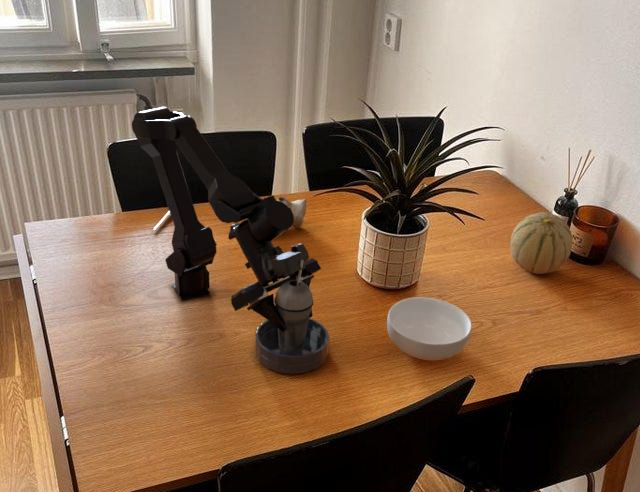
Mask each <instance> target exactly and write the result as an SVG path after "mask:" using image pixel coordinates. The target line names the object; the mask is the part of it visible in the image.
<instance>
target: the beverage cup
mask: <svg viewBox="0 0 640 492" xmlns="http://www.w3.org/2000/svg"><path fill="white" fill-rule="evenodd" d="M303 262H304V260H301V263H300V266H301V268H302V267H303ZM301 273H302V270H301V269H300V270H299V274H298V279H297V280H289V281H286V282H285V283H283V284H282V285H281V286H280V287H278V288H277V290H276V293H275V296H274V304H275V306H276V308H277V310H278V312H279V314H280V316H281V318H282V319H283V321H284V324H285V326H286V330H285V331H281V330H280V329H279V328H278V339H279V348H280V353H281V354H283V355H289V356H295V355H301V354H302V352H303V347H304V343H305V337H306V331H307V326H308V320H309V314H310V312H311V309H313V305H314V298H313V293H312V291H311V288H310V286H309V287H308V286H307V285H306V284H305V283H304V282H302V281H300V278H301Z"/></svg>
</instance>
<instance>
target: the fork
mask: <svg viewBox="0 0 640 492" xmlns="http://www.w3.org/2000/svg"><path fill="white" fill-rule="evenodd" d="M169 217H171V214H170V211H169V210H168V211H167V213H165V215H164V216H163V217H162V218H161V220H159V221H158V223H157V224H156V225H155V226H154V227H153V228H152V232H154V233H155V232H157V231H158V229H160V227H161V226H163V224H165V222H166V221H167V220H168V219H169Z"/></svg>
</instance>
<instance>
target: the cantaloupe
mask: <svg viewBox="0 0 640 492" xmlns="http://www.w3.org/2000/svg"><path fill="white" fill-rule="evenodd" d="M509 243H510V253H511V256H512V259H513V260H514V262H515V263H516V264H517V266H519V267H520V268H522V269H523V270H524V271H526V272H529V273H532V274H535V275H543V274H549V273H552V272H555V271H557V270H558V269H560V268H561V267H562V266H564V264H565V263H566V262H567V261H568V259H569V257H570V255H571V252H572V249H573V234H572V230H571V228H570V226H569V224H568V223H566V221H565V220H564V219H563V218H562V217H560V216H559V215H557V214H554V213H550V212H544V211H542V212H541V211H540V212H535V213H532V214H529V215H527V216H526V217H524V218H523V219H522V220H521V221H520V222H519V223H517V225H516V226H515V227H514V229H513V231H512V234H511V237H510V241H509Z"/></svg>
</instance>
